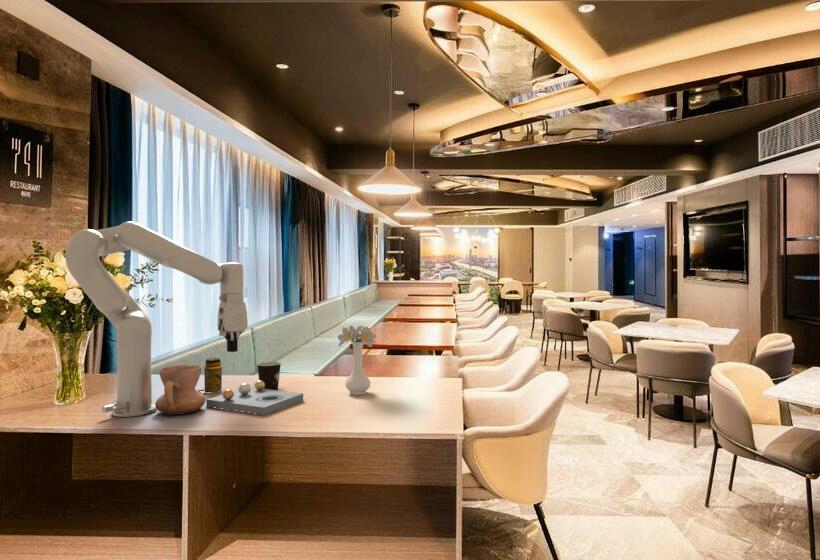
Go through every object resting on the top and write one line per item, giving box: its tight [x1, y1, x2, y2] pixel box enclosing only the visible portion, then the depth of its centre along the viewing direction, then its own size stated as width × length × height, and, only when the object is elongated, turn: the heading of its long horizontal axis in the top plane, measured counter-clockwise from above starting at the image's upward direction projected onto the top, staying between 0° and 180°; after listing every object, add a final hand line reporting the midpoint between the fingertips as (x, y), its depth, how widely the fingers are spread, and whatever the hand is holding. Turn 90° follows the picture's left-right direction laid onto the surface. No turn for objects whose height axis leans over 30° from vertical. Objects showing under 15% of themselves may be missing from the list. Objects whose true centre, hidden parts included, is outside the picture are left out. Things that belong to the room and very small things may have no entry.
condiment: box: [196, 357, 223, 395], centre depth 188 cm, size 7×8×12 cm
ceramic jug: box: [154, 363, 206, 415], centre depth 160 cm, size 18×14×14 cm
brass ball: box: [254, 379, 265, 390], centre depth 179 cm, size 4×4×4 cm
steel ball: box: [238, 382, 252, 395], centre depth 172 cm, size 4×4×4 cm
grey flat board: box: [206, 386, 304, 416], centre depth 170 cm, size 24×20×2 cm
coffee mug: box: [256, 361, 282, 391], centre depth 191 cm, size 12×9×10 cm
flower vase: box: [337, 325, 377, 396], centre depth 186 cm, size 13×18×25 cm
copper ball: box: [222, 388, 234, 400], centre depth 166 cm, size 4×4×4 cm
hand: (232, 351), depth 175 cm, fingers closed
